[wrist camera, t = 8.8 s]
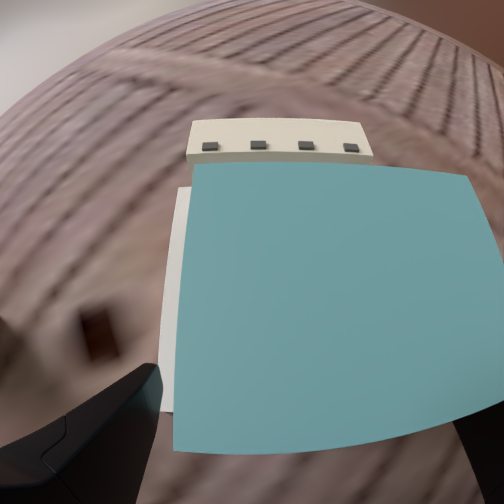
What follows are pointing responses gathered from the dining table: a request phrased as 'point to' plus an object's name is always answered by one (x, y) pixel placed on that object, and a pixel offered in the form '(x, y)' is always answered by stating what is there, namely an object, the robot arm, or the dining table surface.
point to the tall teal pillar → (332, 307)
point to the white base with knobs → (246, 150)
